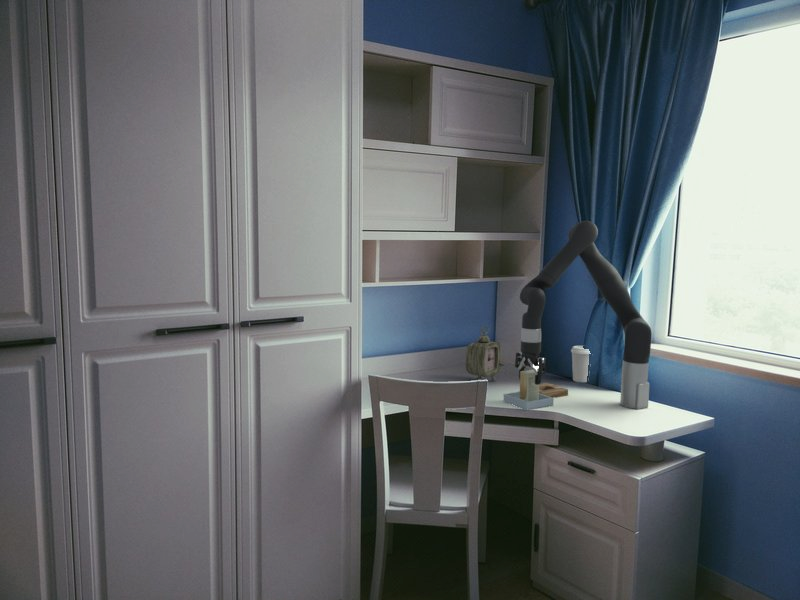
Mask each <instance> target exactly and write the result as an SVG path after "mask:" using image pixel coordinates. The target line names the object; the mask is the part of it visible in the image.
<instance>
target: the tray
mask: <svg viewBox="0 0 800 600" xmlns="http://www.w3.org/2000/svg"><path fill="white" fill-rule="evenodd" d="M502 399H503V401H505V402H504V403H506V402H507V403H506V404H508V403H510V404H509V405H511V404H513V405H512V406H514V405H515V406H514V407H516V406H517V407H516V408H519V407H520V409H521V408H522V410H524V411H532V410H537V409H543V408H548V407H549V406H550V407H554V398H551V397H548V396H545V395H543V394H540V393H539V400H536V401H530V402H526V401H523V400H521V399H520V391H514V392H509V393H508V392H507V393H503V398H502ZM503 401H502V402H503ZM550 407H549V408H550Z"/></svg>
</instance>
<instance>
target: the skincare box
mask: <svg viewBox="0 0 800 600" xmlns="http://www.w3.org/2000/svg"><path fill="white" fill-rule="evenodd" d="M535 375H536V374H535V372H534V370H532V369H527V370H525V371H520V379H519V392H520V399H521V400H523V401H526V402H530V401H536V400H539V385H536V384H535Z"/></svg>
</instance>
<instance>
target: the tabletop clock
mask: <svg viewBox="0 0 800 600" xmlns="http://www.w3.org/2000/svg"><path fill="white" fill-rule="evenodd" d="M483 328H487V330H486V331H483V332H482V330H483ZM489 330H490V328H489V326H488V325H487V324H484V325H482V326H481V327H480V329H479V334H480V335H481V336H479V337H478V339H477V341H476V340H475V341H473V342H471V343H469V344H468V345H467V347H466V353H465V355H466V356H465V370H466V372H467V373H468V374H470V375H473V376H477V377H476V379H475V381H476V380H478V379H481V380H482V377H485V378H488V377H491V381H492V380H495V381H496V377H495V376H494V375H496V374H498V372H499V369H500V364H501V344H500V343H499V342H497V341H491V340H490V337H489V336H488V333H489Z"/></svg>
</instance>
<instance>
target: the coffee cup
mask: <svg viewBox="0 0 800 600" xmlns="http://www.w3.org/2000/svg"><path fill="white" fill-rule="evenodd" d="M583 346H584V345H574V346H572V347H571V349H570V352H571V360H572V364H571V365H572V380H573V381H574V382H575V383H587V376H588V365H589V354H591V353H590V351H589V349H584V348H583Z"/></svg>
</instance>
